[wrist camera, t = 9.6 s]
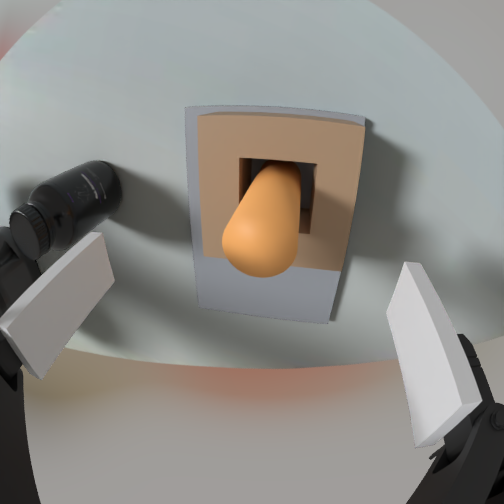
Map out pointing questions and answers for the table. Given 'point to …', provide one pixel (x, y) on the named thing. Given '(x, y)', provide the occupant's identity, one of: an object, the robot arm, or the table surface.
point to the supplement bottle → (65, 209)
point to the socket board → (311, 204)
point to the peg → (266, 222)
